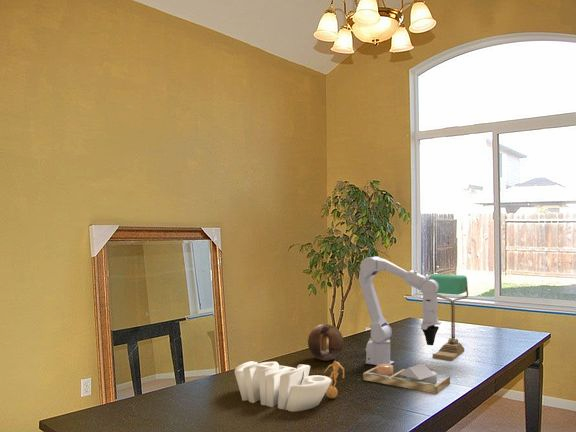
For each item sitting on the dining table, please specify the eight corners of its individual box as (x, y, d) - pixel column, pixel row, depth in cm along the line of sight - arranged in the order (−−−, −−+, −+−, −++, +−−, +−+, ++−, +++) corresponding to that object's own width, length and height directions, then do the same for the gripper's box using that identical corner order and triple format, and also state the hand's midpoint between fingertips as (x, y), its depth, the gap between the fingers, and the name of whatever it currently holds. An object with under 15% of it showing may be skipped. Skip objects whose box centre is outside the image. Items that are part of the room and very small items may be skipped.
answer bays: (363, 379, 197) (363, 372, 197) (379, 370, 209) (379, 364, 209) (436, 393, 181) (436, 385, 181) (450, 383, 193) (450, 375, 193)
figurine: (318, 396, 178) (318, 360, 178) (329, 392, 182) (329, 357, 183) (337, 402, 172) (337, 365, 172) (348, 398, 177) (348, 361, 177)
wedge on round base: (419, 389, 186) (441, 382, 194) (419, 370, 186) (441, 363, 194) (399, 383, 193) (421, 376, 201) (399, 364, 193) (420, 358, 201)
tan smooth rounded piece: (374, 378, 199) (374, 366, 199) (381, 374, 204) (381, 362, 204) (389, 381, 196) (389, 368, 196) (395, 377, 200) (395, 365, 201)
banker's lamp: (472, 352, 238) (472, 274, 239) (460, 362, 221) (460, 278, 221) (437, 347, 247) (437, 272, 247) (423, 357, 229) (422, 276, 230)
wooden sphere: (317, 353, 236) (317, 320, 236) (348, 358, 229) (348, 323, 229) (301, 361, 223) (301, 325, 223) (335, 366, 215) (334, 329, 216)
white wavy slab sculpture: (222, 395, 180) (222, 364, 180) (253, 383, 193) (253, 354, 193) (309, 417, 159) (309, 382, 159) (337, 402, 173) (336, 370, 173)
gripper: (433, 314, 202) (433, 349, 202) (446, 308, 214) (446, 342, 213) (415, 312, 206) (415, 347, 206) (429, 307, 218) (429, 340, 218)
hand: (430, 344), depth 210 cm, fingers closed
